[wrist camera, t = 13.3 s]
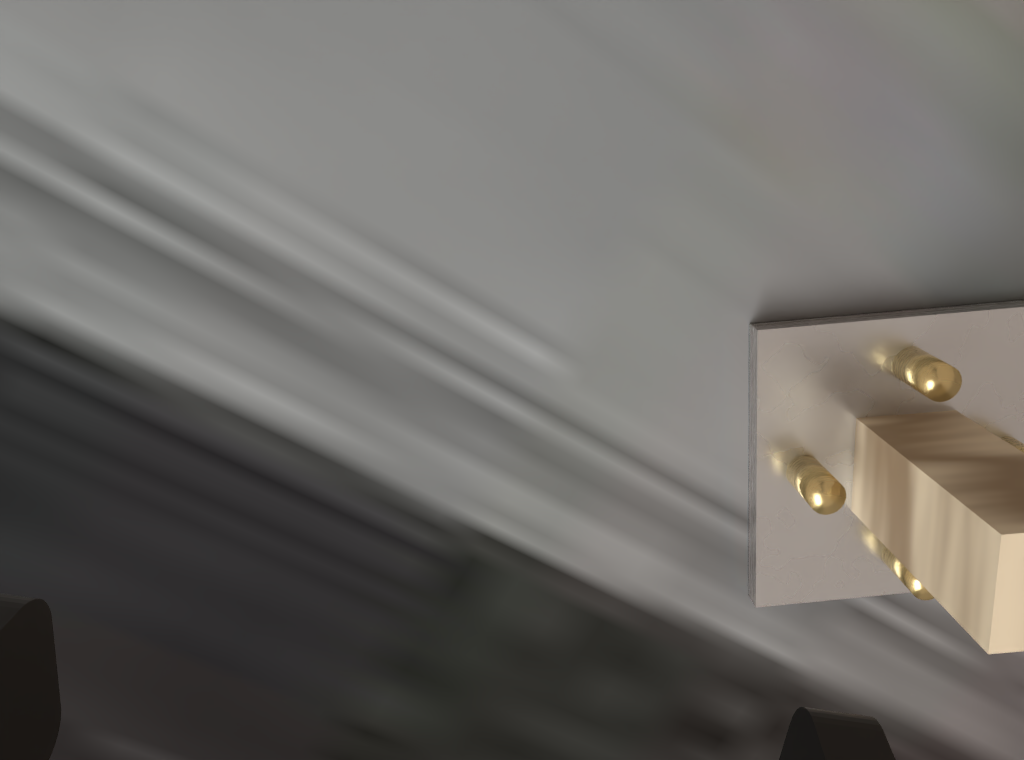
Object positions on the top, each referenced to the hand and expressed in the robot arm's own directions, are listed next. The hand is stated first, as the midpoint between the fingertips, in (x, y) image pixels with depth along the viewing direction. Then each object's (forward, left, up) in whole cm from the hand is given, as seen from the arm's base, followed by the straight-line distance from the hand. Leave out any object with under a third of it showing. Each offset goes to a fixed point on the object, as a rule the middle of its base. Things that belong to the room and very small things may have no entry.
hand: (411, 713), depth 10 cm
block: (+16, +11, -25) cm, 31 cm away
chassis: (+16, +11, -26) cm, 32 cm away
